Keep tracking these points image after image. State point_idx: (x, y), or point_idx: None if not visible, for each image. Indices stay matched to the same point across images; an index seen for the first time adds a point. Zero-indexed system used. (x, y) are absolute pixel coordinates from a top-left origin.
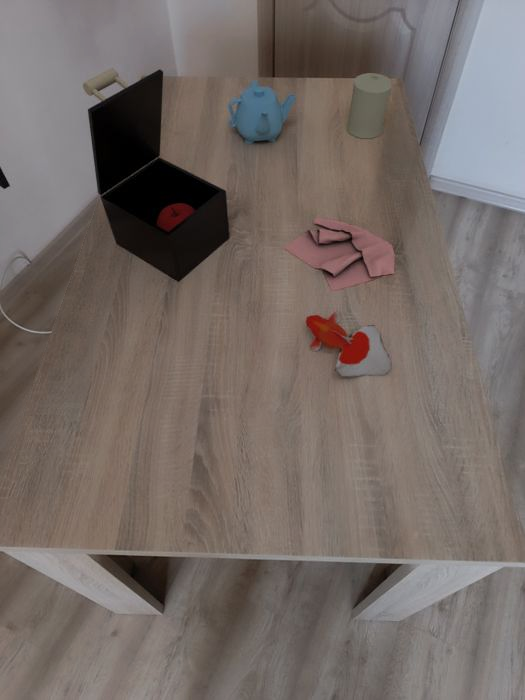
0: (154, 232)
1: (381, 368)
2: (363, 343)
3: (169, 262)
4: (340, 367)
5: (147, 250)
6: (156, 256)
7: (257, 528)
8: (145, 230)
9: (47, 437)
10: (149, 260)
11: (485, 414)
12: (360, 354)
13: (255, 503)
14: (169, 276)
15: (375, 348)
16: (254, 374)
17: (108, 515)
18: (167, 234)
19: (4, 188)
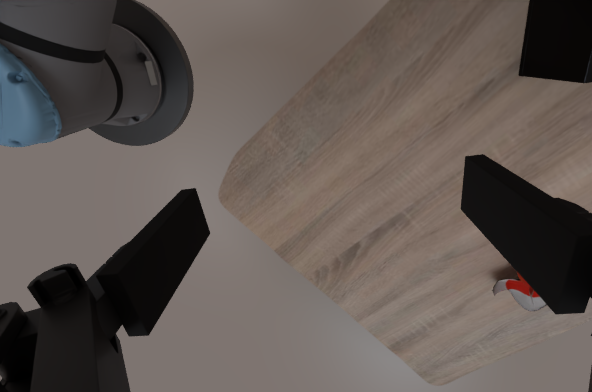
0: (583, 45)
1: (519, 300)
2: (536, 293)
3: (541, 66)
4: (500, 287)
5: (548, 13)
6: (543, 35)
7: (349, 299)
8: (582, 19)
9: (278, 148)
10: (533, 13)
11: (520, 351)
12: (523, 290)
13: (360, 290)
14: (521, 57)
15: (536, 301)
16: (451, 227)
17: (281, 233)
18: (586, 79)
19: (462, 209)
